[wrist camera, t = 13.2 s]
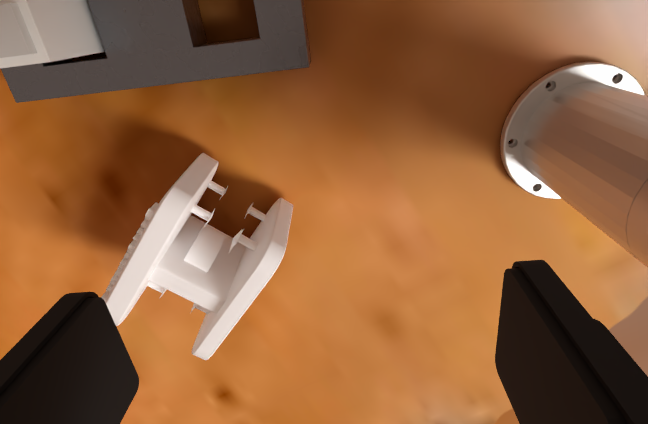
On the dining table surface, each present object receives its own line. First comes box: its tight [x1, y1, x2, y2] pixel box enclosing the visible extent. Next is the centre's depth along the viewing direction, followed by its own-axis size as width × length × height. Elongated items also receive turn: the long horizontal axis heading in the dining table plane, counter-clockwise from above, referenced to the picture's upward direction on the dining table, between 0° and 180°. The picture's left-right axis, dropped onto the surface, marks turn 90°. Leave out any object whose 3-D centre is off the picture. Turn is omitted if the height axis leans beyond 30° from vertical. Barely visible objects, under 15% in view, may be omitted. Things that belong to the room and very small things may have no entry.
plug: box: [0, 0, 105, 68], centre depth 29 cm, size 4×5×11 cm
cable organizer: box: [101, 153, 293, 360], centre depth 37 cm, size 15×11×12 cm
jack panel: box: [1, 0, 311, 103], centre depth 31 cm, size 24×10×4 cm, turn 97°
